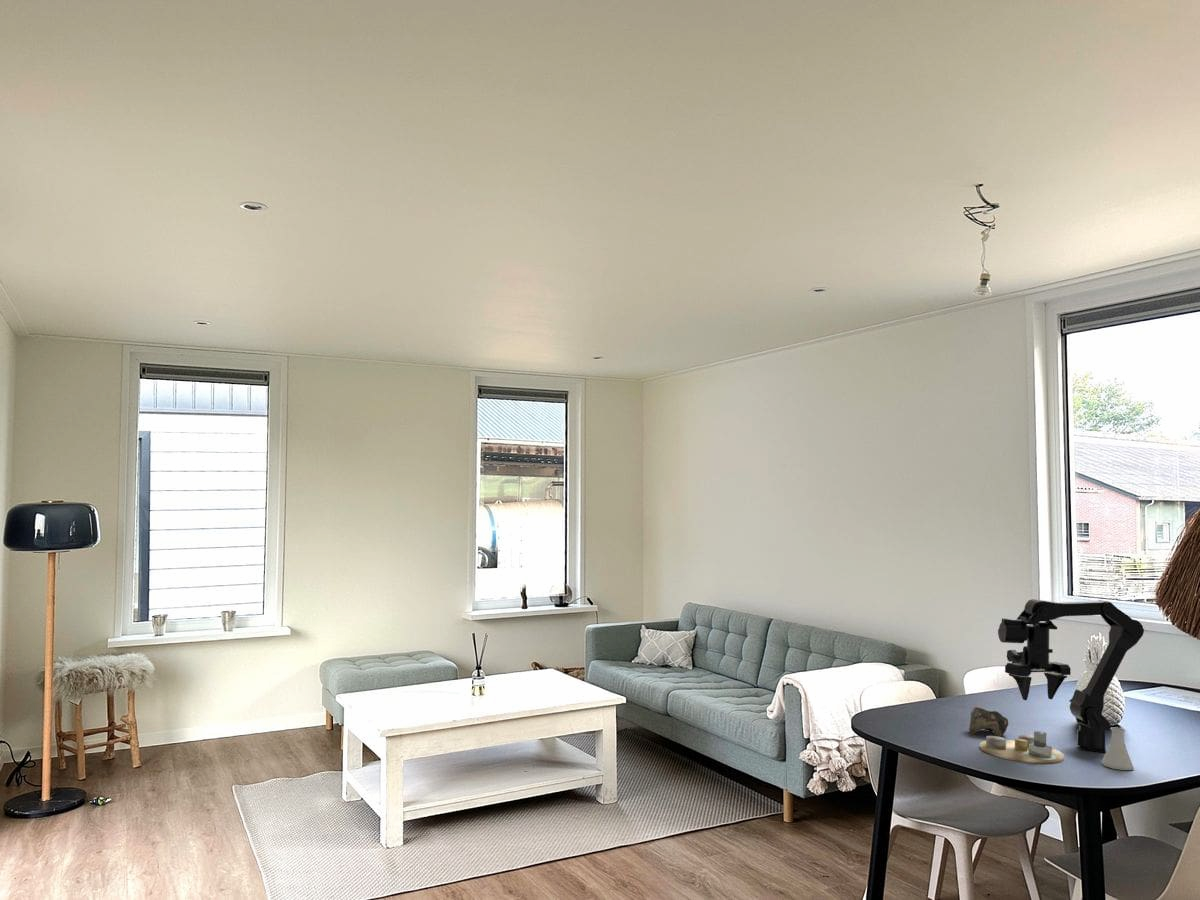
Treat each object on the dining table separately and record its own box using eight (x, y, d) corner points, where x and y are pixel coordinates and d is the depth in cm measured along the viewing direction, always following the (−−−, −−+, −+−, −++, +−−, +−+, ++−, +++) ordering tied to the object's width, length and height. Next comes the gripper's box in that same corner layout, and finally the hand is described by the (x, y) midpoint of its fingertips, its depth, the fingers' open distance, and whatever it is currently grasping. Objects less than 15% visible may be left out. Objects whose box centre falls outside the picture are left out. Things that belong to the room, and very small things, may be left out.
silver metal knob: (1051, 754, 243) (1051, 731, 243) (1051, 759, 238) (1051, 736, 238) (1028, 751, 245) (1028, 728, 245) (1028, 756, 240) (1028, 733, 240)
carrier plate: (1063, 749, 252) (1063, 737, 252) (1065, 767, 233) (1065, 755, 234) (981, 738, 261) (981, 727, 262) (977, 755, 243) (977, 742, 243)
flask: (1122, 763, 240) (1122, 725, 241) (1139, 771, 233) (1139, 732, 234) (1096, 762, 240) (1096, 724, 241) (1112, 770, 233) (1112, 731, 233)
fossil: (1005, 730, 272) (1009, 703, 268) (1008, 751, 264) (1011, 723, 260) (967, 724, 275) (969, 698, 271) (968, 745, 267) (971, 718, 263)
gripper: (1041, 639, 268) (1041, 692, 267) (991, 640, 262) (990, 694, 261) (1072, 645, 257) (1071, 700, 256) (1020, 646, 251) (1019, 702, 250)
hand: (1037, 699), depth 256 cm, fingers open, 9 cm apart
